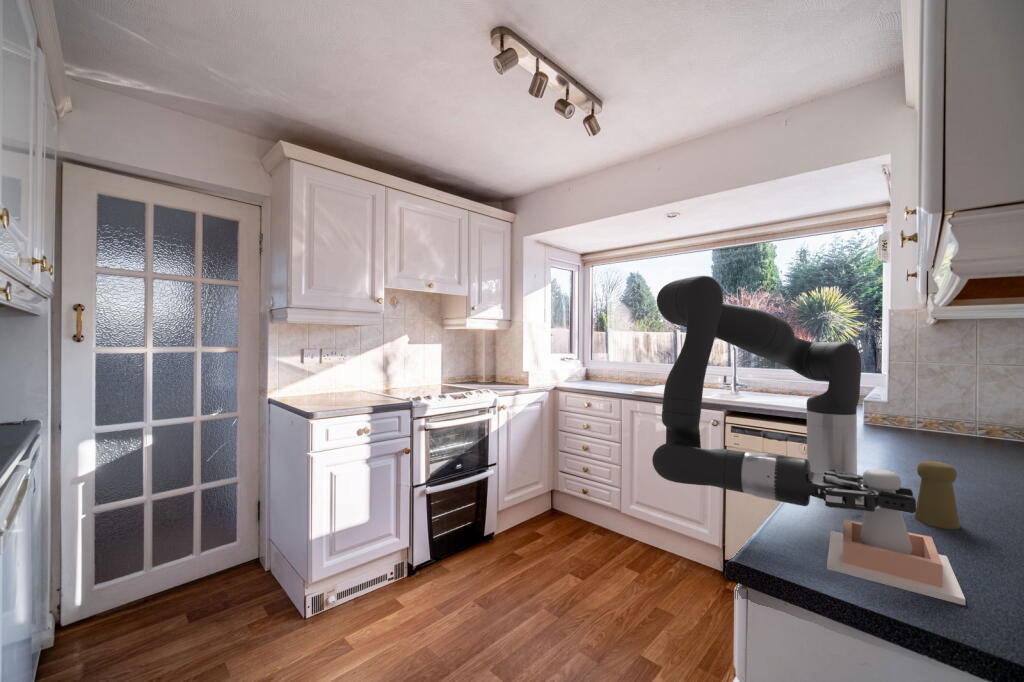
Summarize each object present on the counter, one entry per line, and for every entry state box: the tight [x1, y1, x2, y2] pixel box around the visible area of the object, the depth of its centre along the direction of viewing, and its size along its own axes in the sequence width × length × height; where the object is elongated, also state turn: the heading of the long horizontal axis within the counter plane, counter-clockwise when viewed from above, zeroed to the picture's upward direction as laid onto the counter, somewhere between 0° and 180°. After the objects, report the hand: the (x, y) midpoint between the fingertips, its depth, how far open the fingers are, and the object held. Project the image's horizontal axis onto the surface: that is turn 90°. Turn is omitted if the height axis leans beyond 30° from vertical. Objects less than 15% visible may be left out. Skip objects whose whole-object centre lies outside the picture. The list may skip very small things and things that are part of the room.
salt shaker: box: [860, 468, 912, 555], centre depth 64 cm, size 6×6×13 cm
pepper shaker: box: [914, 460, 961, 530], centre depth 79 cm, size 6×6×11 cm
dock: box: [826, 519, 966, 606], centre depth 64 cm, size 14×14×4 cm
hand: (913, 500), depth 62 cm, fingers open, 3 cm apart
